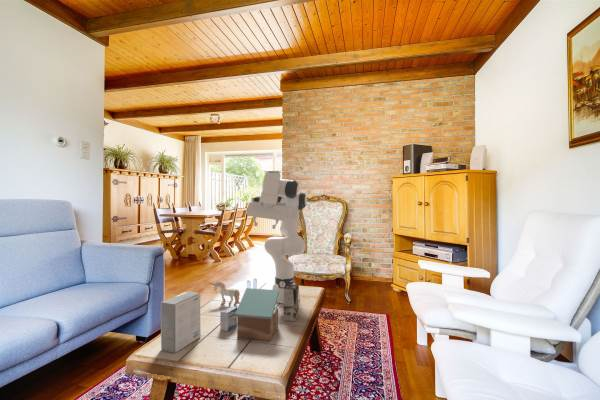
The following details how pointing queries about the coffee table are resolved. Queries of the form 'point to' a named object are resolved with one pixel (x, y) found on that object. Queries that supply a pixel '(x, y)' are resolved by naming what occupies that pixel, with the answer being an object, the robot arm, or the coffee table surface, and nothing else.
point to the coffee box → (291, 302)
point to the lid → (257, 303)
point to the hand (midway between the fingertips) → (264, 227)
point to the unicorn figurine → (227, 292)
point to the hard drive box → (180, 321)
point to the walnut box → (257, 327)
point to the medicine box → (228, 318)
